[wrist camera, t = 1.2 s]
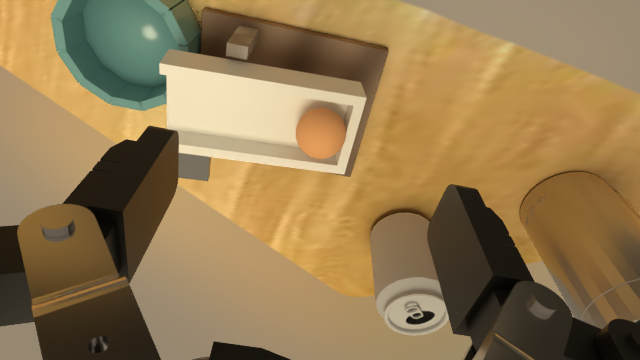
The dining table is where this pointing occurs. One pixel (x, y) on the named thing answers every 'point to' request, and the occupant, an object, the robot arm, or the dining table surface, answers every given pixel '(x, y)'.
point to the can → (406, 275)
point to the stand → (295, 54)
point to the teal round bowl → (123, 45)
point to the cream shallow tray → (251, 112)
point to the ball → (320, 133)
